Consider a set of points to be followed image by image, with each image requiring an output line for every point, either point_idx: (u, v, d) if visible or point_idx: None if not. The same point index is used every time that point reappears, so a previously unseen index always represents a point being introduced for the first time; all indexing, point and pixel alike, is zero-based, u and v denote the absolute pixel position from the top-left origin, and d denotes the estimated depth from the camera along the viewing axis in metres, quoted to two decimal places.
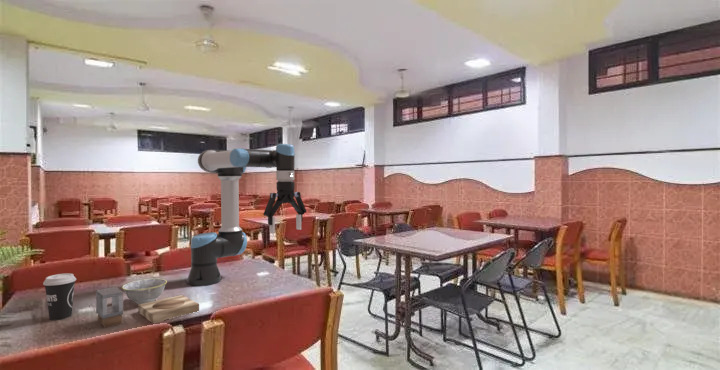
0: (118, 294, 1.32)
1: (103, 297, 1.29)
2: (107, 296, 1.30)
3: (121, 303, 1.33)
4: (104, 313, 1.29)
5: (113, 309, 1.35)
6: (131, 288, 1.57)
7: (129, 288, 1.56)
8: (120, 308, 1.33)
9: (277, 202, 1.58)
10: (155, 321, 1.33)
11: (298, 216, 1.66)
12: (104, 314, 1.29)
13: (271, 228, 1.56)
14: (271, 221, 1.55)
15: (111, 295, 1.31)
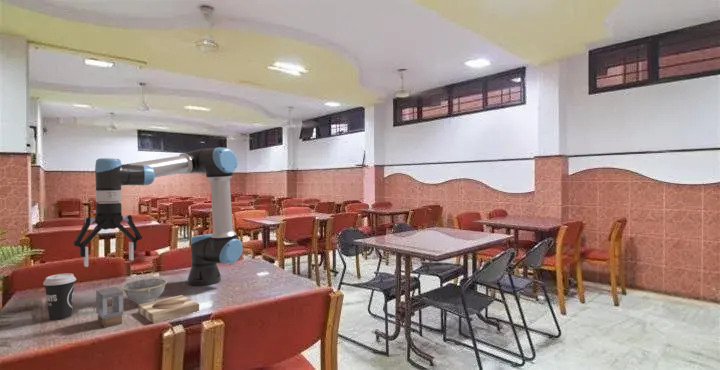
0: (118, 294, 1.32)
1: (103, 297, 1.29)
2: (107, 296, 1.30)
3: (121, 303, 1.33)
4: (104, 313, 1.29)
5: (113, 309, 1.35)
6: (131, 288, 1.57)
7: (129, 288, 1.56)
8: (120, 308, 1.33)
9: (95, 229, 1.31)
10: (155, 321, 1.33)
11: (130, 244, 1.38)
12: (104, 314, 1.29)
13: (84, 261, 1.28)
14: (83, 252, 1.28)
15: (111, 295, 1.31)
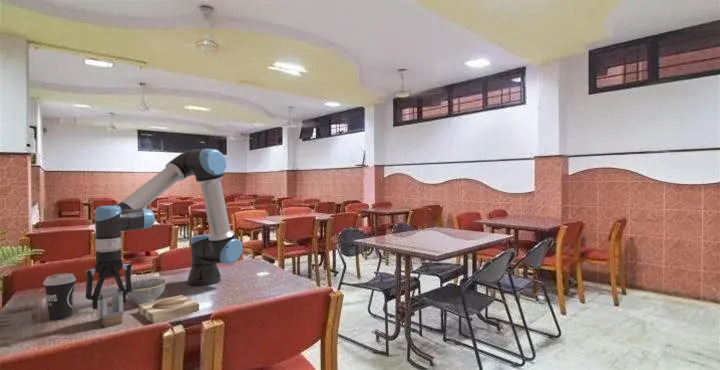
0: (118, 294, 1.32)
1: (103, 297, 1.29)
2: (107, 296, 1.30)
3: (121, 303, 1.33)
4: (104, 313, 1.29)
5: (113, 309, 1.35)
6: None
7: None
8: (120, 308, 1.33)
9: (99, 279, 1.32)
10: (155, 321, 1.33)
11: None
12: (104, 314, 1.29)
13: (97, 313, 1.31)
14: (96, 305, 1.30)
15: (111, 295, 1.31)
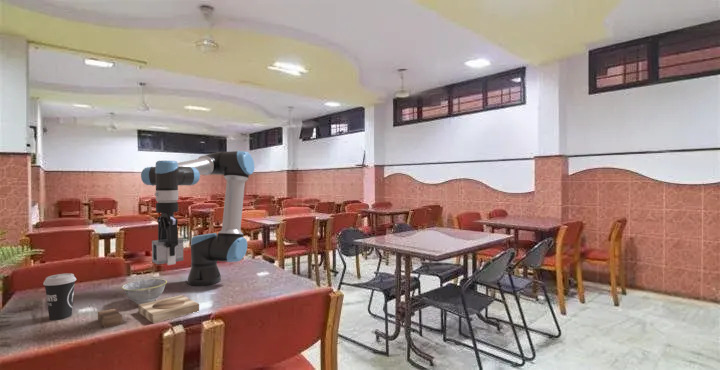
0: (156, 244, 1.39)
1: (152, 242, 1.42)
2: (153, 242, 1.41)
3: (157, 253, 1.38)
4: (152, 257, 1.42)
5: None
6: (131, 288, 1.57)
7: (129, 288, 1.56)
8: (157, 257, 1.39)
9: None
10: (155, 321, 1.33)
11: None
12: (152, 258, 1.42)
13: None
14: None
15: (154, 243, 1.40)
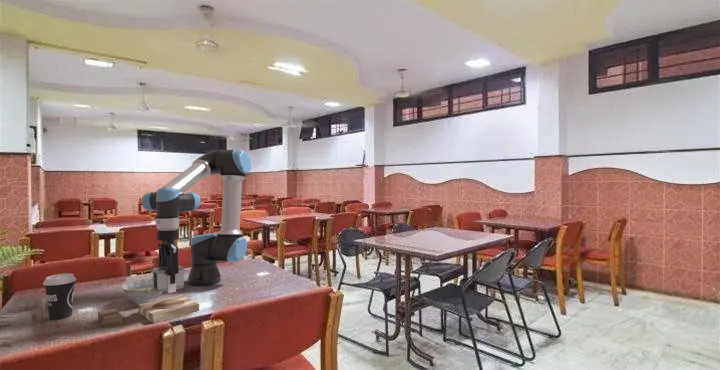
0: (156, 272, 1.39)
1: (152, 270, 1.42)
2: (153, 270, 1.41)
3: (157, 282, 1.38)
4: None
5: None
6: (131, 288, 1.57)
7: (129, 288, 1.56)
8: (157, 286, 1.39)
9: None
10: (155, 321, 1.33)
11: None
12: None
13: None
14: None
15: (154, 270, 1.40)
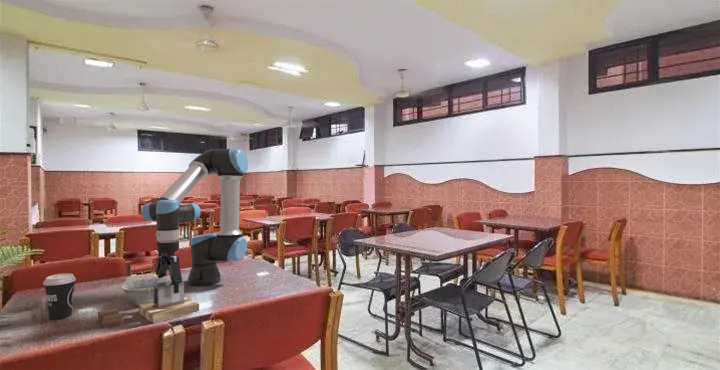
0: (157, 288, 1.39)
1: (153, 286, 1.42)
2: (154, 286, 1.41)
3: (158, 298, 1.39)
4: (153, 300, 1.42)
5: None
6: (131, 288, 1.57)
7: (129, 288, 1.56)
8: (158, 302, 1.39)
9: None
10: (155, 321, 1.33)
11: None
12: (153, 301, 1.42)
13: None
14: None
15: (155, 286, 1.41)
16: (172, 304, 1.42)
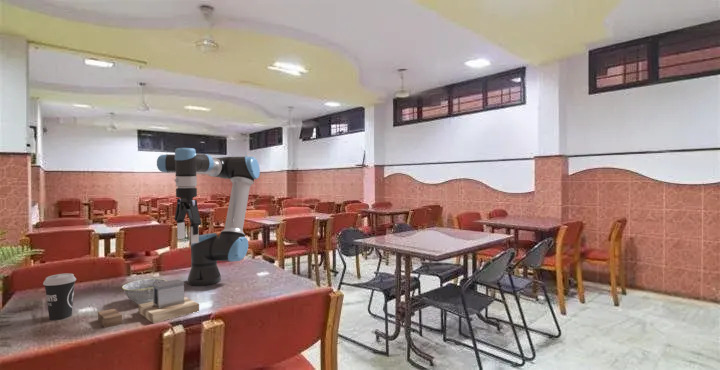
0: (157, 288, 1.39)
1: (153, 286, 1.42)
2: (154, 286, 1.41)
3: (158, 298, 1.39)
4: (153, 300, 1.42)
5: None
6: (131, 288, 1.57)
7: (129, 288, 1.56)
8: (158, 302, 1.39)
9: None
10: (155, 321, 1.33)
11: None
12: (153, 301, 1.42)
13: None
14: None
15: (155, 286, 1.41)
16: (172, 304, 1.42)
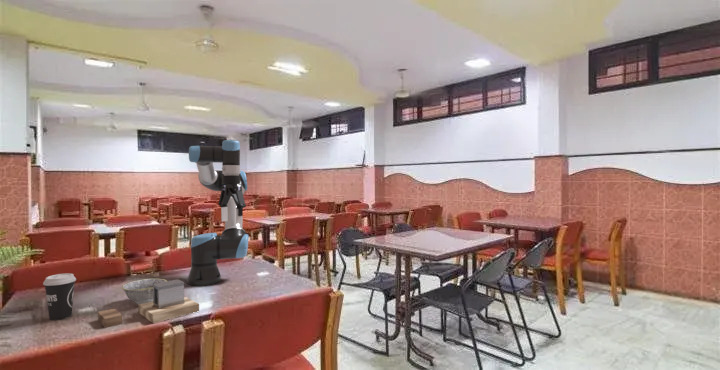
0: (157, 288, 1.39)
1: (153, 286, 1.42)
2: (154, 286, 1.41)
3: (158, 298, 1.39)
4: (153, 300, 1.42)
5: None
6: (131, 288, 1.57)
7: (129, 288, 1.56)
8: (158, 302, 1.39)
9: None
10: (155, 321, 1.33)
11: None
12: (153, 301, 1.42)
13: None
14: None
15: (155, 286, 1.41)
16: (172, 304, 1.42)
